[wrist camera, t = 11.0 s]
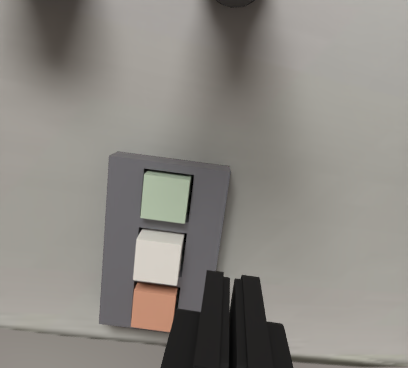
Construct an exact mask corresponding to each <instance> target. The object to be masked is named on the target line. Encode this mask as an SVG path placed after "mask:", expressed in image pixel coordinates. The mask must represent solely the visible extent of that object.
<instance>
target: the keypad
mask: <svg viewBox="0 0 408 368" xmlns="http://www.w3.org/2000/svg"><path fill="white" fill-rule="evenodd" d="M149 169H152V170H160V171H167V172H175V173H182V174H190V175H194V182H193V190H192V198H191V206H190V213H187V217H186V221H185V224H182V223H175V222H167V221H160V220H152V219H145V218H140V216H141V204H142V193H143V181H144V174H145V173H146V172H147V171H148V170H149ZM230 174H231V171H230V166H224V165H216V164H209V163H201V162H194V161H186V160H179V159H171V158H163V157H156V156H148V155H141V154H133V153H125V152H116V153H114V154H112V155H110V156H109V167H108V183H107V200H106V216H105V233H104V249H103V266H102V282H101V298H100V315H99V324H105V325H113V326H120V327H128V328H134V327H131V318H132V307H133V295H134V289H135V287H136V285H137V282H144V281H137V280H133V273H134V261H135V250H136V239H137V237H138V235H139V234H140V232H141V230H142V229H143V228H149V229H156V230H164V231H171V232H179V233H187V238H186V246H185V254H184V262H183V264H181V267H180V273H179V278H178V282H177V286H175V287H180V295H179V303H178V309H185V310H191V311H198V312H201V307H202V300H203V293H204V286H205V279H206V272H207V270H211V271H216V267H217V260H218V254H219V247H220V240H221V234H222V227H223V220H224V214H225V207H226V200H227V194H228V187H229V180H230ZM144 283H152V282H144ZM152 284H159V283H152ZM159 285H167V284H159ZM167 286H174V285H167ZM175 312H176V311H175ZM135 329H142V328H135ZM143 330H149V329H143ZM151 331H157V330H151ZM158 332H165V331H158ZM166 333H170V332H166Z"/></svg>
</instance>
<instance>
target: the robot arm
mask: <svg viewBox="0 0 408 368" xmlns="http://www.w3.org/2000/svg"><path fill="white" fill-rule="evenodd" d="M223 274H224V272H218V271H211V270H207V272H206V279H205V286H204V293H203V300H202V307H201V312H198V311H191V310H185V309H178V308H177V309H176V312H175V315H174V319H173V323H172V326H171V330H170V334H169V338H168V342H167V345H166V349H165V353H164V357H163V361H162V364H161V368H293V364H292V360H291V355H290V351H289V347H288V342H287V338H286V334H285V329H284V326H283V325H282V324H280V323H273V322H266V316H265V309H264V303H263V297H262V290H261V284H260V278H259V277H253V276H246V275H242V276H241V279H235V280H234V286H233V293H232V299H231V306H230V313H229V303H230V278H228V277H223Z"/></svg>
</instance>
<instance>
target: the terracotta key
mask: <svg viewBox="0 0 408 368" xmlns="http://www.w3.org/2000/svg"><path fill="white" fill-rule="evenodd" d="M177 295H178V287H175V286H167V285H159V284H152V283H144V282H137V285H136V287H135V289H134V295H133V307H132V318H131V327H134V328H142V329H149V330H157V331H165V332H170V330H171V326H172V323H173V319H174V315H175V311H176V303H177Z"/></svg>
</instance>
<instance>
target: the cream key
mask: <svg viewBox="0 0 408 368" xmlns="http://www.w3.org/2000/svg"><path fill="white" fill-rule="evenodd" d="M184 235H185V233H179V232H171V231H164V230H156V229H149V228H143V229H142V230H141V232H140V234H139V235H138V237H137V239H136V250H135V261H134V273H133V280H137V281H144V282H152V283H159V284H167V285H174V286H177V282H178V278H179V273H180V267H181V259H182V251H183V243H184Z"/></svg>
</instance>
